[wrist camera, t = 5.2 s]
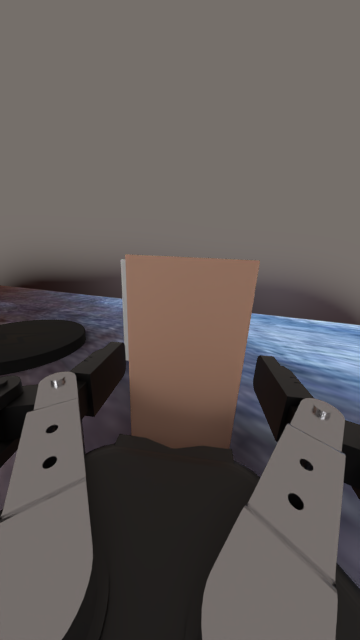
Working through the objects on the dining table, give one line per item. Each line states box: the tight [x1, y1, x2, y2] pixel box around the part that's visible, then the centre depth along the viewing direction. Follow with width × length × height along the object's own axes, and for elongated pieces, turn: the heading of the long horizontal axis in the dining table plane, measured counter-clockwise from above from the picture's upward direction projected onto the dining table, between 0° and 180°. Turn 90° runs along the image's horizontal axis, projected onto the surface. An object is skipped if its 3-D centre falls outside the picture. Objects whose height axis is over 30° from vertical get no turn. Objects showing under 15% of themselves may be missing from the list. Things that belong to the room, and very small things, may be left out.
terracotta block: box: [125, 254, 260, 449], centre depth 11 cm, size 5×5×14 cm
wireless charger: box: [0, 320, 86, 375], centre depth 30 cm, size 18×18×2 cm
